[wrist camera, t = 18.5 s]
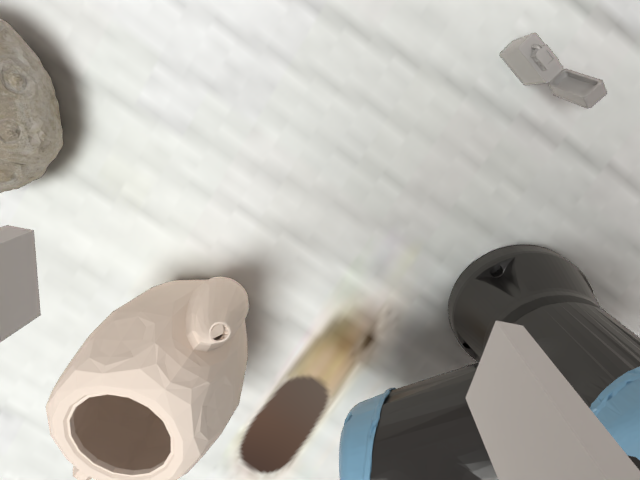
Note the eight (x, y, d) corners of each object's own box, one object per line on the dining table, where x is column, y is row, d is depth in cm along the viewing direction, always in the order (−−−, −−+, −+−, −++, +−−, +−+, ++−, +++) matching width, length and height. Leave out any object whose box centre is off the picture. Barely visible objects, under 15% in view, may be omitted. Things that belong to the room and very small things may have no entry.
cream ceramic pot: (324, 280, 45) (309, 392, 28) (197, 406, 53) (121, 557, 35) (221, 194, 43) (131, 256, 25) (103, 339, 50) (-30, 466, 33)
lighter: (498, 54, 36) (538, 40, 29) (513, 39, 36) (558, 21, 28) (543, 108, 38) (593, 109, 30) (559, 95, 37) (613, 92, 30)
